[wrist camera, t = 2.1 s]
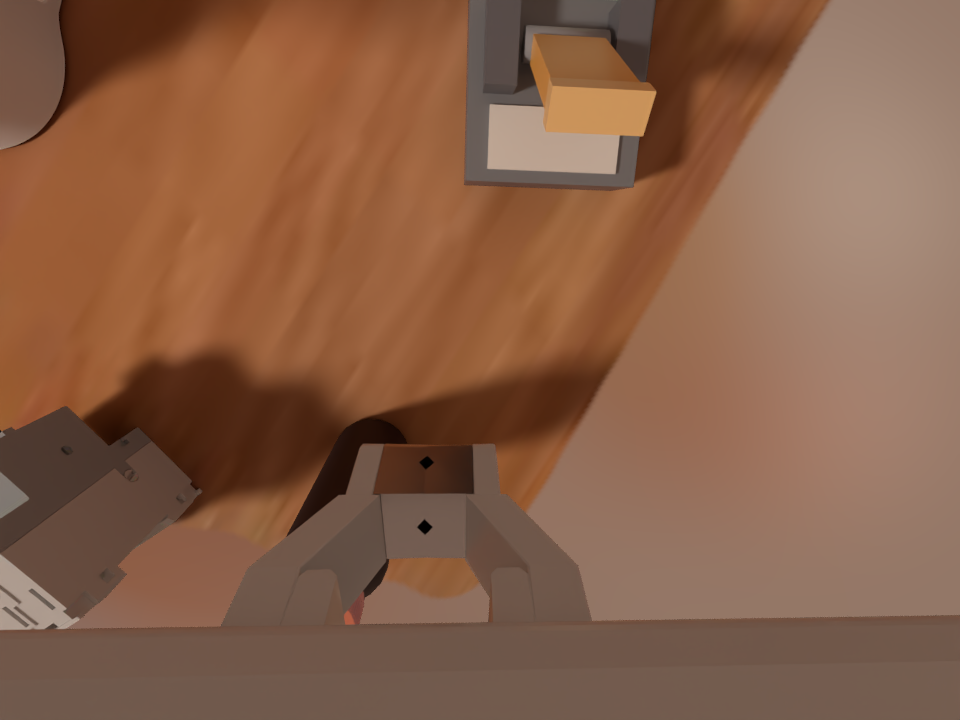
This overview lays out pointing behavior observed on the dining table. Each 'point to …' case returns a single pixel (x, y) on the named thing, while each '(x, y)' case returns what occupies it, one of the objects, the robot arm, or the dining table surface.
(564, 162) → the panel
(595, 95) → the lever
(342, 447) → the bottle
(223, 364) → the dining table surface
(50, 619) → the circuit breaker
